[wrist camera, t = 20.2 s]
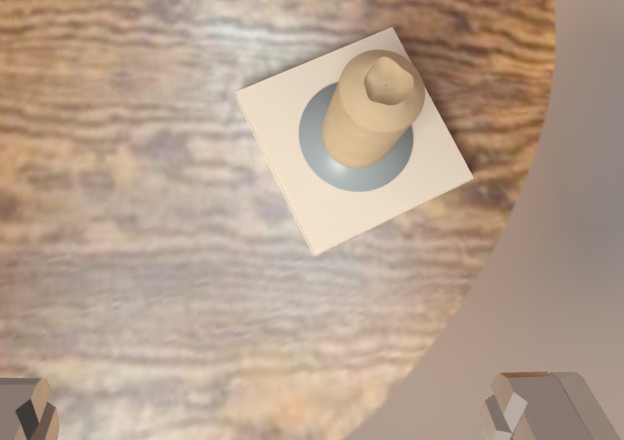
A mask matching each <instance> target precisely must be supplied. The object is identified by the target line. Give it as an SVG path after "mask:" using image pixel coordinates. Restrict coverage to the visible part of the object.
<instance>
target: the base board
mask: <svg viewBox="0 0 624 440" xmlns="http://www.w3.org/2000/svg"><path fill="white" fill-rule="evenodd" d="M370 50H388V51H391V52H395V53H397V54H399V55H401V56H403V57H404V58H406V59H407V60H409V61H410V62H411V60H410V59H409V57H408V55H407V53H406V51H405V49H404V47H403V46H402V44H401V42H400V40H399V38H398V36H397V34H396V33H395V31H394V29H393V27H391V28H389V29H386V30H384V31H381V32H379V33H377V34H374V35H372V36H369V37H367V38H364V39H362V40H360V41H357V42H355V43H352V44H350V45H348V46H345V47H343V48H340V49H338V50H335V51H333V52H331V53H328V54H326V55H323V56H321V57H319V58H316V59H314V60H311V61H309V62H306V63H304V64H302V65H299V66H297V67H294V68H292V69H290V70H287V71H285V72H282V73H280V74H278V75H275V76H273V77H270V78H268V79H265V80H263V81H261V82H258V83H256V84H253V85H251V86H249V87H246V88H244V89H241V90H239V91H236V101H237V103H238V105H239V107H240V109H241V111H242V113H243V115H244V117H245V119H246V121H247V123H248V125H249V127H250V129H251V131H252V133H253V135H254V137H255V139H256V141H257V143H258V145H259V147H260V149H261V151H262V153H263V155H264V157H265V159H266V161H267V163H268V165H269V167H270V169H271V171H272V173H273V175H274V178H275V180H276V182H277V184H278V186H279V188H280V190H281V192H282V194H283V196H284V198H285V200H286V202H287V204H288V206H289V208H290V210H291V212H292V214H293V216H294V218H295V220H296V222H297V224H298V226H299V228H300V230H301V232H302V234H303V236H304V238H305V240H306V242H307V244H308V246H309V248H310V250H311V252H312V254H313V256H314V257H316V256H318V255H320V254H322V253H324V252H326V251H328V250H330V249H332V248H334V247H336V246H338V245H340V244H342V243H344V242H346V241H348V240H350V239H352V238H355V237H357V236H359V235H361V234H363V233H365V232H367V231H369V230H371V229H373V228H375V227H377V226H379V225H381V224H383V223H385V222H387V221H389V220H391V219H393V218H396V217H398V216H400V215H402V214H404V213H406V212H408V211H410V210H412V209H414V208H416V207H418V206H420V205H422V204H424V203H426V202H428V201H430V200H432V199H434V198H437V197H439V196H441V195H443V194H445V193H447V192H449V191H451V190H453V189H455V188H457V187H459V186H461V185H463V184H465V183H467V182H469V181H470V180H472V179H474V177H473V176H472V174H471V172H470V170H469V168H468V166H467V164H466V163H465V161H464V159H463V157H462V155H461V153H460V151H459V150H458V148H457V146H456V144H455V142H454V140H453V138H452V137H451V135H450V133H449V131H448V129H447V127H446V125H445V124H444V122H443V120H442V118H441V116H440V114H439V112H438V111H437V109H436V107H435V105H434V103H433V101H432V99H431V98H430V96H429V94H428V92H427V90H426V88H425V86H424V88H425V101H424V105H423V108H422V110H421V112H420V114H419V116H418V117H417V118H416V120H415V121H414V122H413V123H412V124H411V126H410V127H409V128H408V129H407V130H406V131H405V133H404V134H403V135H402V136H401V137H400V138H399V140H398V141H397V142H396V143H395V144H394V145H393V147H392V148H391V149H390V150H389V151H388V153H387V154H386V155H385V156H384V157H383V158H382V159H381V160H380V161H378V162H377V163H375V164H373V165H371V166H369V167H365V168H350V167H346V166H343V165H341V164H339V163H338V162H336V161H335V160H334V159H333V158H332V157H331V156H330V155H329V154H328V153H327V151H326V149H325V147H324V145H323V142H322V136H321V129H322V123H323V120H324V117H325V115H326V112H327V110H328V107H329V105H330V102H331V99H332V97H333V94H334V92H335V89H336V87H337V84H338V82H339V79H340V77H341V74H342V72H343V70H344V68H345V66H346V65H347V64H348V63H349V62H350V61H351V60H352V59H353V58H354V57H356V56H357V55H359V54H361V53H363V52H366V51H370ZM411 63H412V62H411Z"/></svg>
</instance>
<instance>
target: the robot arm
mask: <svg viewBox="0 0 624 440" xmlns="http://www.w3.org/2000/svg"><path fill="white" fill-rule="evenodd" d="M491 387H492V389H493V391H494V395H492V396H491V397H489V398H488V399H487V400H485V402H484V405H483V407H482V411H481V431H482V436H483V439H484V440H621V439H620V438H619V436H618V435H617V433H616V431H615V429H614V428H613V426H612V425H611V423H610V421H609V420H608V418H607V416H606V415H605V413H604V411H603V410H602V408H601V406H600V405H599V403H598V401H597V400H596V398H595V397H594V395H593V393H592V392H591V390H590V388H589V387H588V385H587V384H586V382H585V380H584V379H583V377H582V376H581V375H579V374H578V373H577V372H551V373H548V372H521V373H499V374H498V375H497V376H495V378H494V380H493V382H492V384H491ZM50 393H51V389H50V387H49V384H48V381H47V379H42V378H0V440H57V438H58V431H59V423H58V414H57V410H56V407H54V406H53V405H52V404H50V403H49V402H47V401H48V398H49V395H50Z"/></svg>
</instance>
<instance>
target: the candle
mask: <svg viewBox="0 0 624 440" xmlns="http://www.w3.org/2000/svg"><path fill="white" fill-rule="evenodd" d="M424 101H425V88H424V83H423V80H422V78H421V76H420V74H419V72H418V70H417V69H416V68H415V66H414V65H413V64H412V63H411V62H410V61H409V60H407V59H406V58H404V57H403V56H401V55H399V54H397V53H395V52H391V51H388V50H370V51H366V52H363V53H361V54H359V55H357V56H356V57H354V58H353V59H352V60H351V61H350V62H349V63H348V64H347V65H346V66H345V68H344V70H343V72H342V74H341V77H340V79H339V82H338V84H337V87H336V89H335V92H334V94H333V97H332V99H331V102H330V105H329V107H328V110H327V112H326V115H325V117H324V120H323V123H322V129H321V136H322V142H323V145H324V147H325V149H326V151H327V153H328V154H329V155H330V156H331V157H332V158H333V159H334V160H335V161H336V162H338V163H339V164H341V165H343V166H346V167H350V168H365V167H369V166H371V165H373V164H375V163H377V162H378V161H380V160H381V159H382V158H383V157H384V156H385V155H386V154H387V153H388V151H389V150H390V149H391V148H392V147H393V145H394V144H395V143H396V142H397V141H398V140H399V138H400V137H401V136H402V135H403V134H404V133H405V131H406V130H407V129H408V128H409V127H410V126H411V124H412V123H413V122H414V121H415V120H416V118H417V117H418V116H419V114H420V112H421V110H422V108H423V105H424Z"/></svg>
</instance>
